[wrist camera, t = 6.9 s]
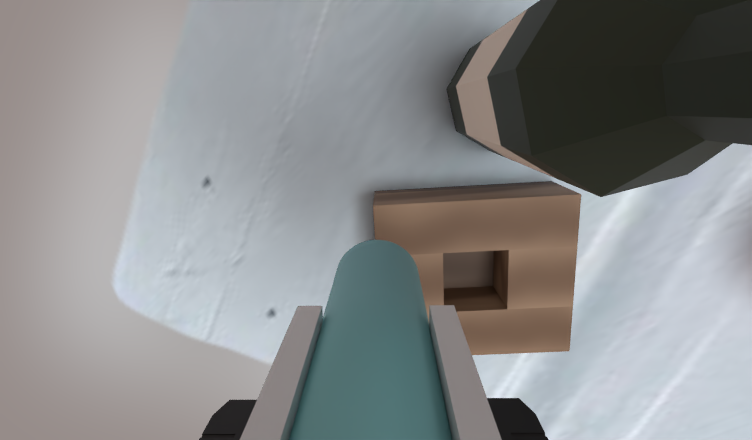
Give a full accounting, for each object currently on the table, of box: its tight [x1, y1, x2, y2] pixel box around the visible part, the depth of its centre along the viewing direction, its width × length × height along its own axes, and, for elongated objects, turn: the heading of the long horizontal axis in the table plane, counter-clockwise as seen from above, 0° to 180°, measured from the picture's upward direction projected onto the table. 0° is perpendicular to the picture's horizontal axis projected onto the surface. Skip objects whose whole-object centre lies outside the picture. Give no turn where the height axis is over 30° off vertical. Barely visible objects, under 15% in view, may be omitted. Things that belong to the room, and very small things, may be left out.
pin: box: [289, 240, 452, 440], centre depth 11 cm, size 4×4×13 cm
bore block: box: [373, 181, 581, 355], centre depth 32 cm, size 12×14×5 cm
